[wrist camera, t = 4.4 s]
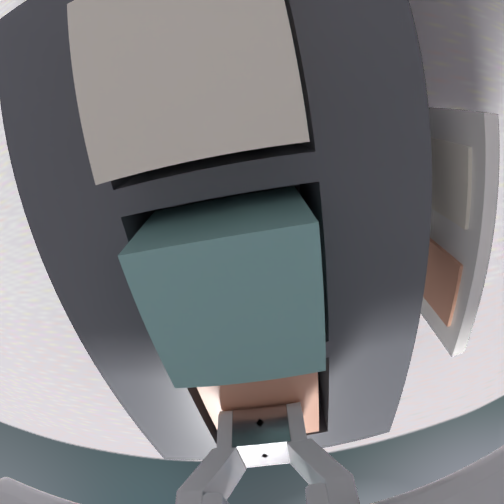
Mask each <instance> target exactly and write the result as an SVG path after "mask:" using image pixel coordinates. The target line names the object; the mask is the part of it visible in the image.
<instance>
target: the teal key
mask: <svg viewBox="0 0 504 504" xmlns="http://www.w3.org/2000/svg"><path fill="white" fill-rule="evenodd" d="M118 258H119V261H120V264H121V267H122V269H123V272H124V275H125V277H126V280H127V283H128V285H129V288H130V290H131V293H132V295H133V298H134V300H135V303H136V305H137V308H138V310H139V313H140V315H141V317H142V320H143V322H144V324H145V327H146V329H147V331H148V333H149V336H150V338H151V340H152V342H153V344H154V347H155V349H156V351H157V353H158V355H159V357H160V359H161V361H162V363H163V365H164V368H165V370H166V372H167V374H168V376H169V378H170V380H171V382H172V383H173V385H174V387H175V388H192V387H207V386H219V385H230V384H240V383H249V382H257V381H265V380H272V379H279V378H286V377H292V376H298V375H304V374H310V373H315V372H321V371H326V343H325V312H324V290H323V273H322V258H321V244H320V232H319V222H318V220H317V219H316V217H315V216H314V214H313V213H312V211H311V210H310V208H309V207H308V205H307V204H306V202H305V201H304V200H303V198H302V197H301V195H300V194H299V192H298V191H297V189H296V188H295V186H292V187H285V188H278V189H272V190H265V191H259V192H253V193H247V194H241V195H235V196H229V197H223V198H218V199H212V200H207V201H202V202H196V203H191V204H186V205H181V206H176V207H171V208H166V209H161V210H156V211H155V212H154V213H153V214H152V215H151V216H150V217H149V219H148V220H147V221H146V222H145V223H144V224H143V226H142V227H141V228H140V229H139V230H138V232H137V233H136V234H135V235H134V236H133V238H132V239H131V240H130V241H129V242H128V244H127V245H126V246H125V247H124V249H123V250H122V251H121V252H120V254H119V255H118Z"/></svg>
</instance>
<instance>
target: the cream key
mask: <svg viewBox="0 0 504 504" xmlns="http://www.w3.org/2000/svg"><path fill="white" fill-rule="evenodd" d="M67 17H68V33H69V44H70V54H71V63H72V71H73V78H74V85H75V92H76V98H77V104H78V109H79V115H80V120H81V125H82V130H83V135H84V140H85V144H86V149H87V153H88V157H89V161H90V165H91V169H92V173H93V177H94V181H95V185H98V184H102V183H105V182H109V181H112V180H116V179H119V178H123V177H127V176H131V175H134V174H138V173H142V172H146V171H150V170H154V169H158V168H163V167H167V166H171V165H176V164H180V163H185V162H189V161H194V160H199V159H204V158H209V157H214V156H219V155H225V154H230V153H236V152H241V151H247V150H253V149H260V148H266V147H273V146H280V145H287V144H295V143H303V142H310V140H309V133H308V126H307V119H306V112H305V106H304V99H303V93H302V87H301V81H300V75H299V70H298V64H297V59H296V54H295V48H294V43H293V38H292V33H291V29H290V24H289V19H288V15H287V10H286V6H285V1H284V0H74V1H72V2H70V3H68V4H67Z"/></svg>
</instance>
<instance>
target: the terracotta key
mask: <svg viewBox="0 0 504 504" xmlns="http://www.w3.org/2000/svg"><path fill="white" fill-rule="evenodd" d="M197 389H198V391H199V394H200V396H201V398H202V400H203V402H204V404H205V406H206V409H207V411H208V413H209V415H210V417H211V419H212V421H213V423H214V425H215V427H216V429H217V428H218V415H219V412H220V411H231V410H244V409H255V408H261V407H268V406H275V405H281V404H290V403H296V402H300V403H301V406H302V412H303V418H304V423H305V429H306V433H311V432H317V431H319V395H318V372H315V373H310V374H304V375H298V376H292V377H286V378H279V379H272V380H265V381H257V382H249V383H240V384H230V385H219V386H207V387H197ZM286 407H287V406H286Z"/></svg>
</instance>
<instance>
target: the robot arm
mask: <svg viewBox="0 0 504 504" xmlns="http://www.w3.org/2000/svg"><path fill="white" fill-rule="evenodd" d="M286 406H287V407H286ZM286 463H290V464H291V465H292V466H293V467H294V468H295V469H296V471H297V472H298V473H299V474H300V475H301V476H302V477H303V478H304V479H305V480H306V481H307V483H308V484H309V485H308V486H307V487H306V488H305V494H306V504H360V502H359V497H358V493H357V489H356V485H355V480H354V476H353V474H351V473H350V472H349V471H348V470H347V469H346V468H344V467H343V466H342V465H341V464H340V463H339V462H337V461H336V460H335V459H334V458H333V457H332V456H330V455H329V454H328V453H327V452H326V451H325V450H324V449H323V448H321V447H320V446H319V445H318V444H317V443H316V442H315V441H314V440H313V439H312V438H309V439H307V435H306V429H305V423H304V418H303V412H302V406H301V403H300V402H296V403H290V404H281V405H275V406H268V407H261V408H255V409H244V410H231V411H220V412H219V415H218V428H217V446H216V448H214V449H212V450H211V451H210V452H209V454H208V455H207V456H206V457H205V458H204V460H203V461H202V462H201V463H200V464H199V466H198V467H197V468H196V469H195V470H194V472H193V473H192V474H191V475H190V476H189V477H188V479H187V480H186V481H185V482H184V483H183V484H182V485H181V487H180V488H179V489H178V490H177V495H176V503H175V504H229V503H228V502H227V499H228V497H229V495H230V494H231V492H232V491H233V489H234V488H235V486H236V485H237V483H238V482H239V480H240V478H241V477H242V475H243V474H244V472H245V470H246V468H249V467H258V466H267V465H277V464H286ZM0 504H79V503H75V502H73V501H69V500H66V499H63V498H60V497H57V496H54V495H51V494H48V493H45V492H43V491H40V490H37V489H35V488H32V487H30V486H27V485H25V484H23V483H20V482H18V481H16V480H14V479H12V478H9V477H3V478H1V479H0ZM371 504H504V445H503V446H502V447H500V448H498V449H497V450H495V451H494V452H492V453H490V454H488V455H487V456H485V457H483V458H481V459H479V460H477V461H476V462H474V463H472V464H470V465H468V466H466V467H464V468H462V469H460V470H458V471H456V472H454V473H452V474H450V475H448V476H446V477H443V478H441V479H439V480H436V481H434V482H431V483H429V484H427V485H424V486H422V487H419V488H416V489H414V490H411V491H409V492H406V493H403V494H400V495H397V496H394V497H391V498H388V499H385V500H382V501H378V502H375V503H371Z"/></svg>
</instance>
